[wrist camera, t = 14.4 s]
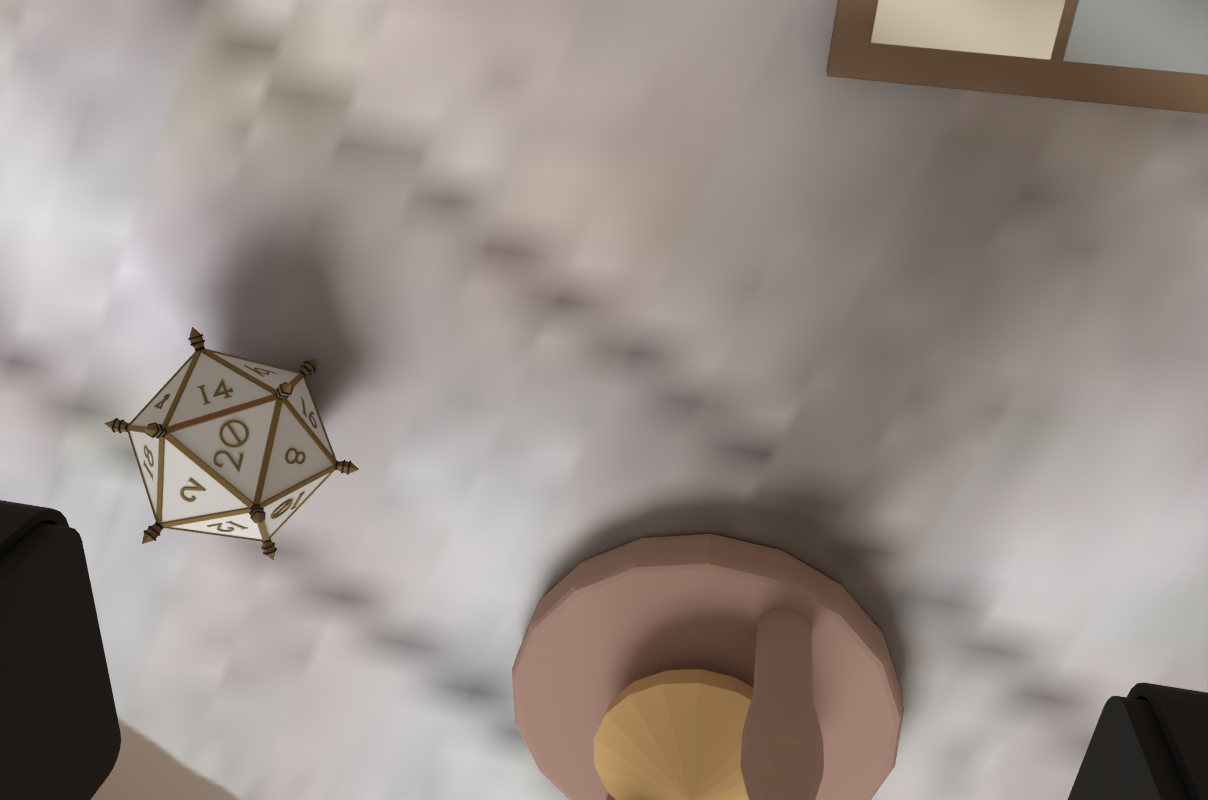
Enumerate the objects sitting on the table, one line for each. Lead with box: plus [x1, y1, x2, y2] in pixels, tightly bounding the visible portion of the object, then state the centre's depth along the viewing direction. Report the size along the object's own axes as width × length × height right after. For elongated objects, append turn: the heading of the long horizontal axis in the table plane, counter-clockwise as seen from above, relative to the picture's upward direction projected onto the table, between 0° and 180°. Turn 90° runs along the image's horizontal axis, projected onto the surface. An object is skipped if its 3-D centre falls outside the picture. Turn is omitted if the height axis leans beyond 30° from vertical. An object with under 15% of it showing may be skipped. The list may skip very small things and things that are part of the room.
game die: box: [105, 327, 359, 560], centre depth 42 cm, size 9×8×10 cm
